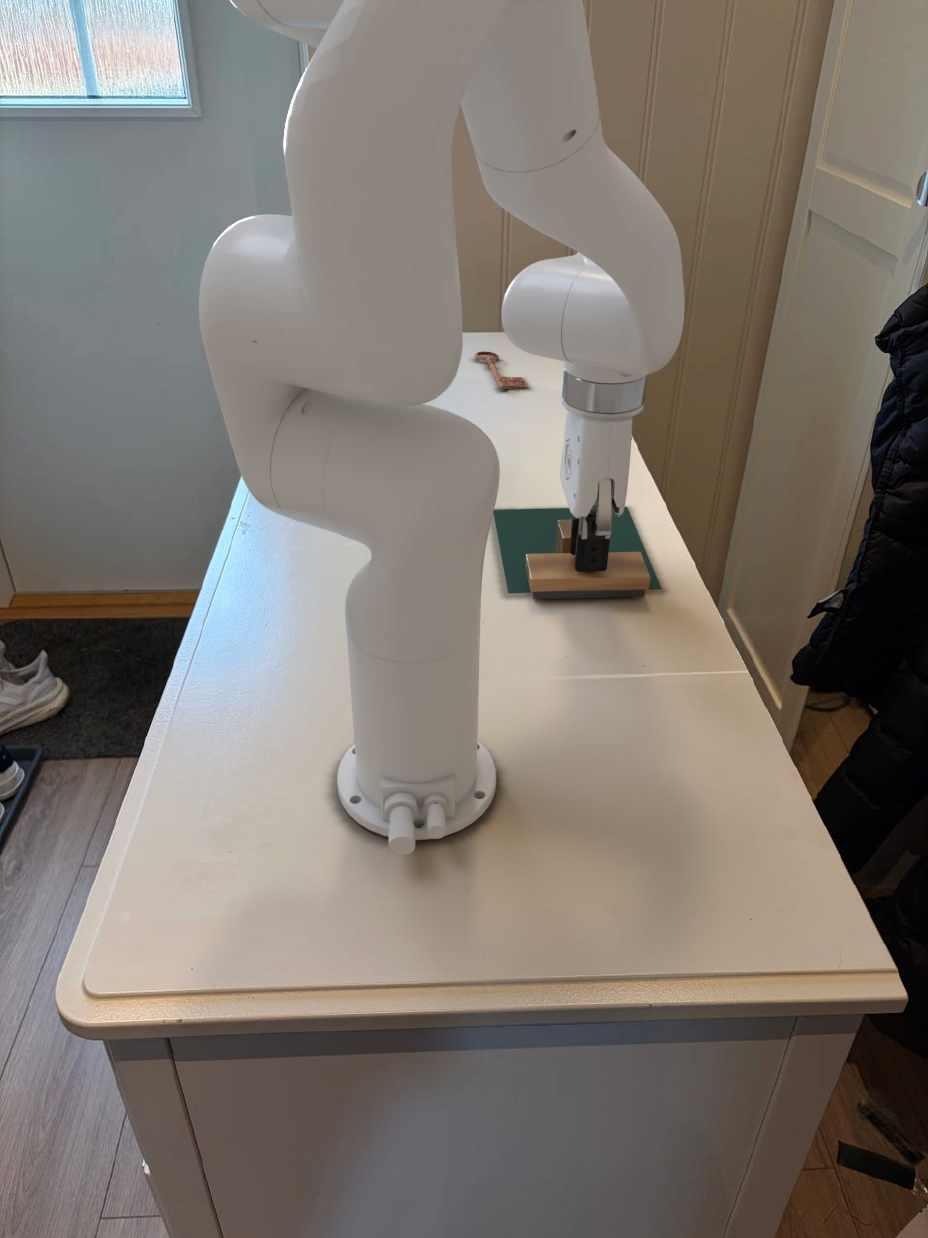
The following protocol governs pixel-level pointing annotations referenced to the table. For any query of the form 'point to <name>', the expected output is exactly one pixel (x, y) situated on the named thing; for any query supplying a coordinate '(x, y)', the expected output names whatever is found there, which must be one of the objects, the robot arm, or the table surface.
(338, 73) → the robot arm
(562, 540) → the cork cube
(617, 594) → the brush
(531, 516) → the mat
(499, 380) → the key
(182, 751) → the table surface
